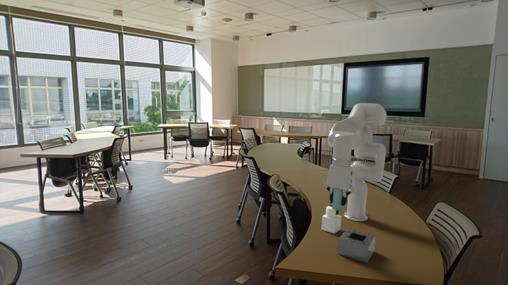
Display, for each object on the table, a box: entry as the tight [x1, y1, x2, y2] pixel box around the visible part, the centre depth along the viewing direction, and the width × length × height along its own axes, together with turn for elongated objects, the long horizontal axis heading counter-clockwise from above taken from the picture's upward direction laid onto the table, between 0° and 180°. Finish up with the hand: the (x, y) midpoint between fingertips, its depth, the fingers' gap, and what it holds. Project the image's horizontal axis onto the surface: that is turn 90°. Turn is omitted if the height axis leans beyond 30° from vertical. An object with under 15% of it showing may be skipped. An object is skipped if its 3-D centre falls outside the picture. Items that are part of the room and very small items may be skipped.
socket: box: [337, 228, 377, 264], centre depth 130 cm, size 12×12×7 cm
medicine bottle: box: [320, 204, 342, 234], centre depth 153 cm, size 7×7×12 cm
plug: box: [331, 187, 344, 211], centre depth 134 cm, size 4×4×10 cm
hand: (337, 203), depth 134 cm, fingers closed on plug, 4 cm apart
